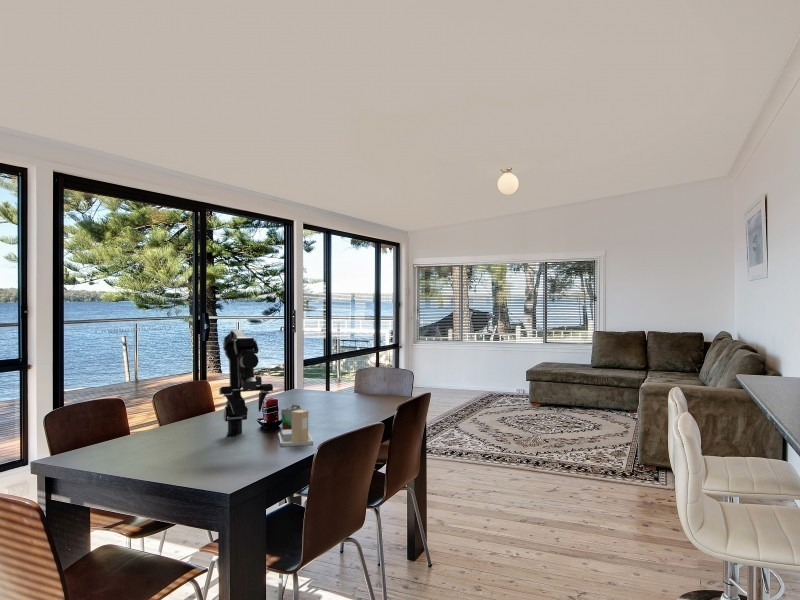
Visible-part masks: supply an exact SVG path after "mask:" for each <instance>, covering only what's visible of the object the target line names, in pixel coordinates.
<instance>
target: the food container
mask: <svg viewBox="0 0 800 600" xmlns="http://www.w3.org/2000/svg"><path fill="white" fill-rule="evenodd" d="M296 410H302V407H301V406H300V405H298V404H291V407H287V408H286V409H281V410H280V415H281V422H282V423H281V426H282V428H281V431H282V430H290V429H292V411H296Z"/></svg>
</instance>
